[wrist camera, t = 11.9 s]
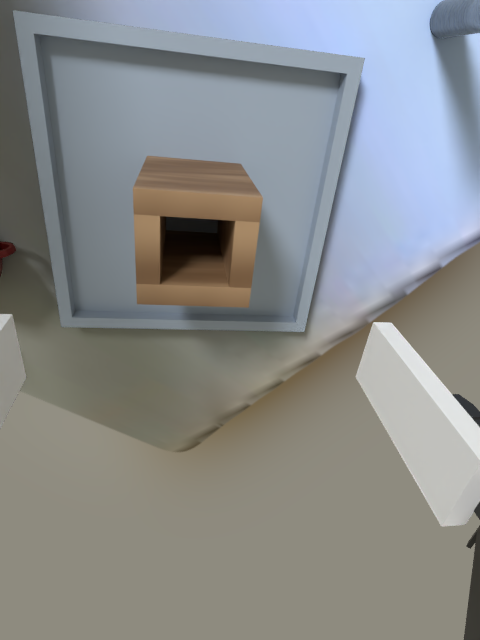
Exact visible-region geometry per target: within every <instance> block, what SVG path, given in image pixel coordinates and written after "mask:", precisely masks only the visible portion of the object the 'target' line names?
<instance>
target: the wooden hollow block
mask: <svg viewBox="0 0 480 640" xmlns="http://www.w3.org/2000/svg"><path fill="white" fill-rule="evenodd" d="M262 202H263V197H262V195H261V194H260V192H259V191H258V189H257V188H256V186H255V185H254V183H253V182H252V180H251V179H250V177H249V176H248V174H247V173H246V171H245V169H244V168H243V166H242V165H241V164H238V163H227V162H215V161H204V160H192V159H181V158H169V157H158V156H147V157H146V159H145V162H144V164H143V166H142V168H141V171H140V173H139V175H138V177H137V180H136V182H135V184H134V186H133V209H134V237H135V265H136V292H137V304H142V305H176V306H211V307H245V308H249V302H250V294H251V286H252V279H253V271H254V263H255V256H256V248H257V240H258V233H259V225H260V217H261V210H262ZM166 216H167V217H182V218H198V219H214V220H218V229H217V233H206V232H189V231H172V230H166Z"/></svg>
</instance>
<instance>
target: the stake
mask: <svg viewBox="0 0 480 640" xmlns="http://www.w3.org/2000/svg"><path fill="white" fill-rule="evenodd" d="M430 29H431V32H432V33H433V35H434V36H435V37H437V38H448V37H455V36H462V35H469V34H475V33H480V0H444V1H442V2H440V3H439V4H438V5H437V6H436V8H435V9H434V11H433V13H432V15H431V19H430Z"/></svg>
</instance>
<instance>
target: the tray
mask: <svg viewBox="0 0 480 640" xmlns="http://www.w3.org/2000/svg"><path fill="white" fill-rule="evenodd" d="M13 16H14V22H15V29H16V35H17V42H18V48H19V55H20V62H21V68H22V75H23V81H24V88H25V94H26V101H27V107H28V114H29V120H30V127H31V133H32V140H33V146H34V153H35V159H36V166H37V172H38V179H39V185H40V192H41V198H42V205H43V211H44V218H45V225H46V231H47V238H48V244H49V251H50V257H51V264H52V270H53V277H54V283H55V290H56V296H57V303H58V309H59V316H60V322H61V327H82V328H133V329H185V330H236V331H287V332H304V331H305V326H306V322H307V317H308V313H309V308H310V304H311V299H312V295H313V290H314V286H315V281H316V277H317V272H318V268H319V263H320V259H321V254H322V250H323V245H324V240H325V236H326V231H327V227H328V222H329V218H330V213H331V209H332V204H333V200H334V195H335V191H336V186H337V182H338V177H339V173H340V168H341V164H342V159H343V155H344V150H345V145H346V141H347V136H348V132H349V127H350V123H351V118H352V114H353V109H354V105H355V100H356V96H357V91H358V87H359V82H360V78H361V73H362V69H363V64H364V60H365V58H360V57H353V56H346V55H338V54H331V53H324V52H316V51H309V50H302V49H294V48H287V47H280V46H272V45H265V44H257V43H250V42H243V41H235V40H228V39H221V38H213V37H206V36H199V35H191V34H184V33H177V32H169V31H162V30H155V29H147V28H140V27H133V26H125V25H118V24H111V23H103V22H96V21H89V20H81V19H74V18H67V17H59V16H52V15H45V14H37V13H30V12H23V11H15V10H13ZM147 156H158V157H169V158H181V159H192V160H204V161H215V162H227V163H238V164H241V165H242V166H243V168H244V169H245V171H246V173H247V174H248V176H249V177H250V179H251V180H252V182H253V183H254V185H255V186H256V188H257V189H258V191H259V192H260V194H261V195H262V197H263V202H262V210H261V217H260V225H259V233H258V240H257V248H256V256H255V263H254V271H253V279H252V286H251V294H250V302H249V308H245V307H211V306H176V305H142V304H137V292H136V265H135V237H134V209H133V186H134V184H135V182H136V180H137V177H138V175H139V173H140V171H141V168H142V166H143V164H144V162H145V159H146V157H147ZM217 229H218V220H214V219H198V218H182V217H167V216H166V230H172V231H189V232H206V233H217Z"/></svg>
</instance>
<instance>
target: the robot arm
mask: <svg viewBox="0 0 480 640" xmlns="http://www.w3.org/2000/svg"><path fill="white" fill-rule="evenodd" d="M356 378H357V380H358V382H359V384H360V385H361V387H362V389H363V391H364V392H365V394H366V396H367V398H368V399H369V401H370V403H371V405H372V406H373V408H374V410H375V412H376V413H377V415H378V417H379V419H380V420H381V422H382V424H383V425H384V427H385V429H386V431H387V433H388V434H389V436H390V438H391V439H392V441H393V443H394V445H395V446H396V448H397V450H398V451H399V453H400V455H401V457H402V459H403V460H404V462H405V464H406V466H407V467H408V469H409V471H410V473H411V474H412V476H413V478H414V480H415V481H416V483H417V485H418V486H419V488H420V490H421V492H422V493H423V495H424V497H425V499H426V500H427V502H428V504H429V506H430V507H431V509H432V511H433V513H434V514H435V516H436V518H437V519H438V521H439V523H440V525H441V526H453V525H465V524H466V523H467V522H468V520H469V519H470V517H471V516H472V514H473V513H474V512H475V513H476V515H477V516H478V518H479V519H480V412H479V410H478V409H477V408H476V407H475V406H474V405H473V404H472V403H470V402H469V401H467V400H466V399H465V398H463V397H462V396H460V395H459V394H451V393H450V392H449V391H448V389H447V388H446V387H445V386H444V385H443V383H442V382H441V381H440V380H439V379H438V377H437V376H436V375H435V374H434V373H433V371H432V370H431V369H430V368H429V367H428V366H427V364H426V363H425V362H424V361H423V360H422V358H421V357H420V356H419V355H418V354H417V352H416V351H415V350H414V349H413V348H412V347H411V345H410V344H409V343H408V342H407V341H406V339H405V338H404V337H403V336H402V335H401V334H400V332H399V331H398V330H397V329H396V328H395V327H394V325H393V324H392V323H379V322H374V323H373V325H372V328H371V331H370V334H369V338H368V340H367V343H366V347H365V350H364V353H363V356H362V359H361V362H360V365H359V368H358V371H357V374H356ZM25 379H26V373H25V368H24V364H23V359H22V355H21V350H20V346H19V342H18V337H17V333H16V328H15V324H14V319H13V315H12V314H0V428H1V426H2V424H3V422H4V421H5V419H6V417H7V415H8V413H9V411H10V409H11V407H12V405H13V403H14V401H15V399H16V397H17V395H18V393H19V391H20V389H21V387H22V385H23V383H24V381H25ZM474 543H476V544H475V552H474V560H473V569H472V577H471V585H470V594H469V602H468V610H467V618H466V626H465V634H464V640H480V526H479V528H478V529H477V530H476V532H475V533H474V534H473V536H472V537H471V539H470V540H469V542H468V544H467V547H468V548H471V547H472V546H473V544H474Z"/></svg>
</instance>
